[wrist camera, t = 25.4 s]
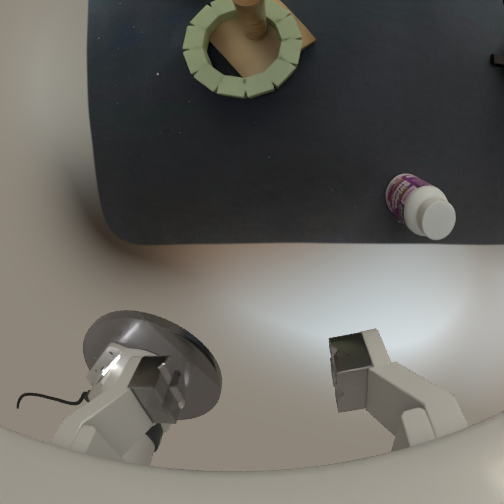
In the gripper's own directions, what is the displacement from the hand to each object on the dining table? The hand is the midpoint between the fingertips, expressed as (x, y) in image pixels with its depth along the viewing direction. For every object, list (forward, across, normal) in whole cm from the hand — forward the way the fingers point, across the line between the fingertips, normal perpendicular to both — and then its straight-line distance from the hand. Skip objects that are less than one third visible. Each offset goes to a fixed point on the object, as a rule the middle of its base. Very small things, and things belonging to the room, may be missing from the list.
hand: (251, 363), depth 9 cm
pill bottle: (+28, -16, +3) cm, 32 cm away
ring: (+26, -1, -16) cm, 31 cm away
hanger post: (+27, -2, -18) cm, 33 cm away
